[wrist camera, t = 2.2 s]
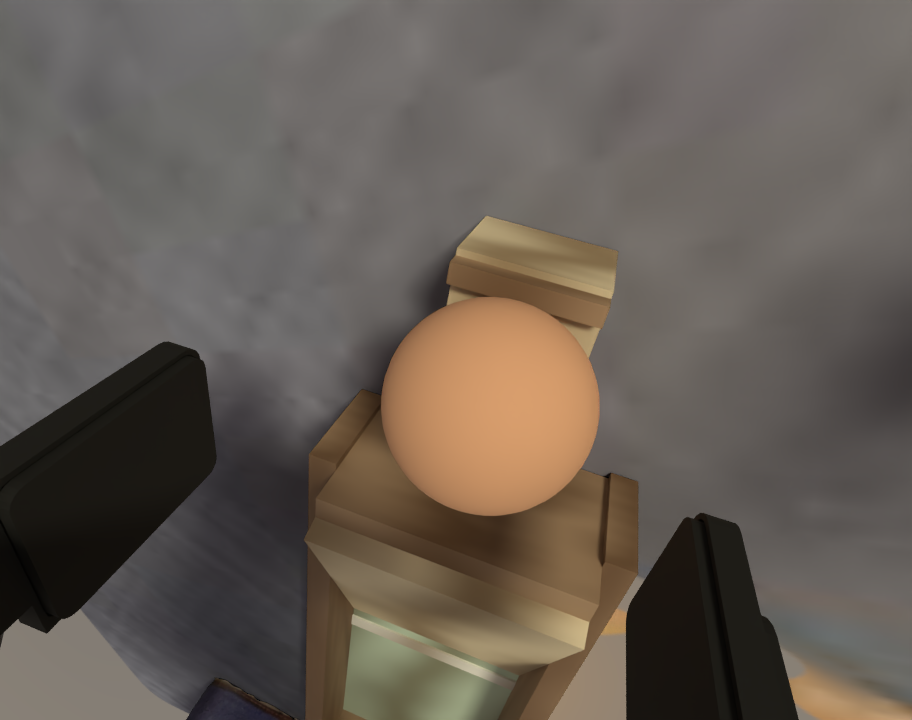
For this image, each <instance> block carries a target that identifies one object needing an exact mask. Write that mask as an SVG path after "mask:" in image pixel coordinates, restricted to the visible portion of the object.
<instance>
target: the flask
mask: <svg viewBox="0 0 912 720" xmlns="http://www.w3.org/2000/svg"><path fill="white" fill-rule="evenodd" d="M186 720H292V718H291V717H290V716H289V715H286V714H285V713H284V712H281V711H280V710H279V709H277V708H275V707H274V706H272V705H270V704H268V703H265V702H262V701H258V700H256V699H255V697H254V695H250V694H247V693H245V692H243V691H242V690H241V689H240V688H238V687H237V688H236V687H234V686H233V685H231V684H230V683H229V682H228V681H226V680H223V679H220V680H219V679H218V678H215V681H214V682H212V683H211V684H210V685H209V686H208V688H207V689H206V691H205V692H204V693H203V694H202V696H201V698H200V700H199V701H198V702H197V704H196V705H195V707H194V708H193V709H192V711H191V713H190V714H189V716H188V718H187V719H186ZM294 720H298V719H297V718H294Z"/></svg>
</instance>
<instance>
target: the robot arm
mask: <svg viewBox="0 0 912 720" xmlns="http://www.w3.org/2000/svg"><path fill="white" fill-rule="evenodd" d="M215 463H216V448H215V440H214V432H213V424H212V416H211V408H210V400H209V392H208V384H207V376H206V368H205V364H204V362H203V361H202V360H200V356H199V354H198V353H197V351H195V350H193V349H190V348H187V347H184V346H181V345H178V344H174V343H171V342H162V343H160V344H158V345H157V346H155V347H154V348H152V349H150V350H149V351H147V352H146V353H144V354H143V355H141V356H140V357H138V358H137V359H135V360H133V361H132V362H130V363H129V364H127V365H126V366H124V367H123V368H121V369H119V370H118V371H116V372H115V373H113V374H112V375H110V376H109V377H107V378H106V379H104V380H102V381H101V382H99V383H98V384H96V385H95V386H93V387H92V388H90V389H88V390H87V391H85V392H84V393H82V394H81V395H79V396H78V397H76V398H74V399H73V400H71V401H70V402H68V403H67V404H65V405H64V406H62V407H61V408H59V409H57V410H56V411H54V412H53V413H51V414H50V415H48V416H47V417H45V418H43V419H42V420H40V421H39V422H37V423H36V424H34V425H33V426H31V427H30V428H28V429H26V430H25V431H23V432H22V433H20V434H19V435H17V436H16V437H14V438H12V439H11V440H9V441H8V442H6V443H5V444H3V445H2V446H0V647H1V643H2V638H3V633H4V632H5V631H6V630H7V629H8V628H9V627H10V626H11V625H12V624H13V623H14V622H15V621H16V620H17V619H19V621H20V622H21V623H23V624H25V625H28V626H30V627H33V628H35V629H37V630H40V631H42V632H45V633H48V632H49V631H50V630H51V629H52V628H53V627H54V626H55V625H56V624H57V623H58V621H60V620H61V619H65V618H68V617H70V616H72V615H73V614H75V613H76V612H77V611H78V610H79V609H80V608H81V607H82V606H83V605H84V604H85V603H86V602H87V601H88V600H89V599H90V598H91V597H92V596H93V595H94V594H95V593H96V592H97V591H98V589H99V588H100V587H101V586H102V585H103V584H104V583H105V582H106V581H107V580H108V579H109V578H110V577H111V576H112V575H113V574H114V573H115V572H116V571H117V570H118V569H119V568H120V567H121V566H122V565H123V564H124V562H125V561H126V560H127V559H128V558H129V557H130V556H131V555H132V554H133V553H134V552H135V551H136V550H137V549H138V548H139V547H140V546H141V545H142V544H143V543H144V542H145V541H146V540H147V539H148V538H149V537H150V535H151V534H152V533H153V532H154V531H155V530H156V529H157V528H158V527H159V526H160V525H161V524H162V523H163V522H164V521H165V520H166V519H167V518H168V517H169V516H170V515H171V514H172V513H173V512H174V511H175V510H176V508H177V507H178V506H179V505H180V504H181V503H182V502H183V501H184V500H185V499H186V498H187V497H188V496H189V495H190V494H191V493H192V492H193V491H194V490H195V489H196V488H197V487H198V486H199V485H200V484H201V483H202V482H203V480H204V479H205V478H206V477H207V476H208V475H209V474H210V473H211V471H212V470H213V468H214V466H215ZM626 701H627V702H626V707H627V708H626V713H627V714H626V715H627V717H626V719H627V720H799V719H798V715H797V711H796V707H795V703H794V700H793V696H792V692H791V688H790V684H789V680H788V677H787V673H786V669H785V665H784V661H783V657H782V653H781V650H780V646H779V642H778V638H777V635H776V632H775V630H774V627H773V625H772V624H771V622H770V621H769V620H768V618H766V617H764V616H762V615H761V613H760V609H759V605H758V601H757V597H756V593H755V588H754V584H753V580H752V576H751V572H750V568H749V564H748V559H747V555H746V551H745V547H744V543H743V539H742V535H741V531H740V528H739V526H738V525H737V524H735V523H732V522H729V521H726V520H723V519H720V518H717V517H714V516H711V515H707V514H704V513H700V514H698V515H697V516H696V517H695V518H694V519H692V518H689V517H686V518H685V519H684V520H683V521H682V522H681V524H680V526H679V527H678V529H677V530H676V532H675V533H674V535H673V537H672V538H671V540H670V541H669V543H668V544H667V546H666V548H665V549H664V551H663V552H662V554H661V555H660V557H659V559H658V560H657V562H656V563H655V565H654V566H653V568H652V570H651V571H650V573H649V574H648V576H647V577H646V579H645V581H644V582H643V584H642V585H641V587H640V588H639V590H638V592H637V593H636V595H635V596H634V598H633V599H632V601H631V603H630V605H629V608H628V612H627V617H626Z"/></svg>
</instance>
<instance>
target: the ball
mask: <svg viewBox="0 0 912 720" xmlns="http://www.w3.org/2000/svg"><path fill="white" fill-rule="evenodd" d="M381 415H382V424H383V429H384V433H385V436H386V440H387V443H388V446H389V448H390V451H391V453H392V455H393V456H394V458H395V460H396V462H397V463H398V465H399V467H400V468H401V470H402V471H403V472H404V474H405V475H406V476H407V477H408V479H409V480H410V481H411V482H412V483H413V484H414V485H415V486H416V487H417V488H418V489H420V490H421V491H422V492H424V493H425V494H426V495H428V496H429V497H431V498H432V499H434V500H435V501H437V502H439V503H441V504H443V505H444V506H447V507H449V508H452V509H454V510H458V511H461V512H465V513H469V514H474V515H482V516H499V515H507V514H512V513H517V512H522V511H525V510H528V509H530V508H532V507H535V506H537V505H539V504H541V503H543V502H545V501H547V500H548V499H550V498H551V497H553V496H554V495H556V494H557V493H558V492H559V491H561V490H562V489H563V488H564V487H565V486H566V485H567V484H568V483H569V482H570V481H571V480H572V479H573V477H574V476H575V475H576V474H577V472H578V471H579V470H580V469H581V467H582V466H583V464H584V462H585V460H586V459H587V457H588V455H589V453H590V451H591V448H592V446H593V443H594V440H595V437H596V433H597V428H598V422H599V392H598V386H597V381H596V377H595V374H594V371H593V368H592V365H591V363H590V361H589V359H588V357H587V355H586V353H585V351H584V350H583V348H582V347H581V345H580V344H579V342H578V341H577V340H576V338H575V337H574V336H573V335H572V334H571V332H570V331H569V330H568V329H567V328H566V327H565V326H564V325H562V324H561V323H560V322H559V321H558V320H557V319H555V318H554V317H552V316H551V315H549V314H548V313H546V312H544V311H542V310H540V309H538V308H536V307H534V306H532V305H529V304H527V303H524V302H521V301H517V300H513V299H509V298H501V297H478V298H471V299H466V300H462V301H459V302H455V303H452V304H449V305H447V306H445V307H443V308H441V309H439V310H437V311H435V312H434V313H432V314H431V315H429V316H427V317H426V318H424V319H423V320H422V321H421V322H420V323H419V324H417V325H416V326H415V327H414V328H413V329H412V330H411V331H410V332H409V333H408V334H407V336H406V337H405V338H404V339H403V341H402V342H401V343H400V345H399V347H398V348H397V350H396V352H395V353H394V355H393V357H392V359H391V361H390V364H389V367H388V369H387V372H386V375H385V378H384V383H383V388H382V395H381Z"/></svg>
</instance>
